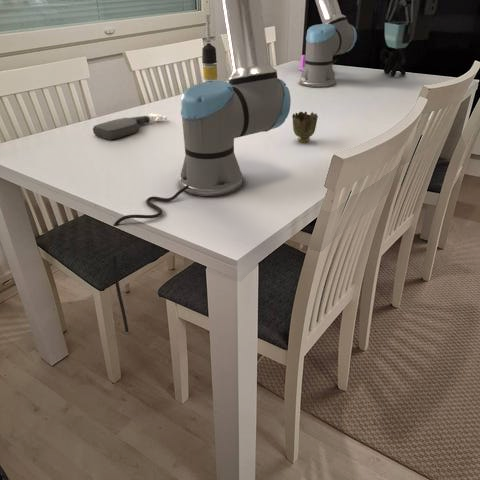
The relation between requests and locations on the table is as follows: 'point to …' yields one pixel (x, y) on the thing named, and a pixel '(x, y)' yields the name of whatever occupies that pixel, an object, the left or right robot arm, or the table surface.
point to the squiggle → (393, 62)
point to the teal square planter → (395, 34)
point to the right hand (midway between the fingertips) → (397, 41)
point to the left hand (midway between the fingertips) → (388, 34)
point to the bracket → (302, 62)
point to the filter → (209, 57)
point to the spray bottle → (123, 126)
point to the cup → (304, 125)
